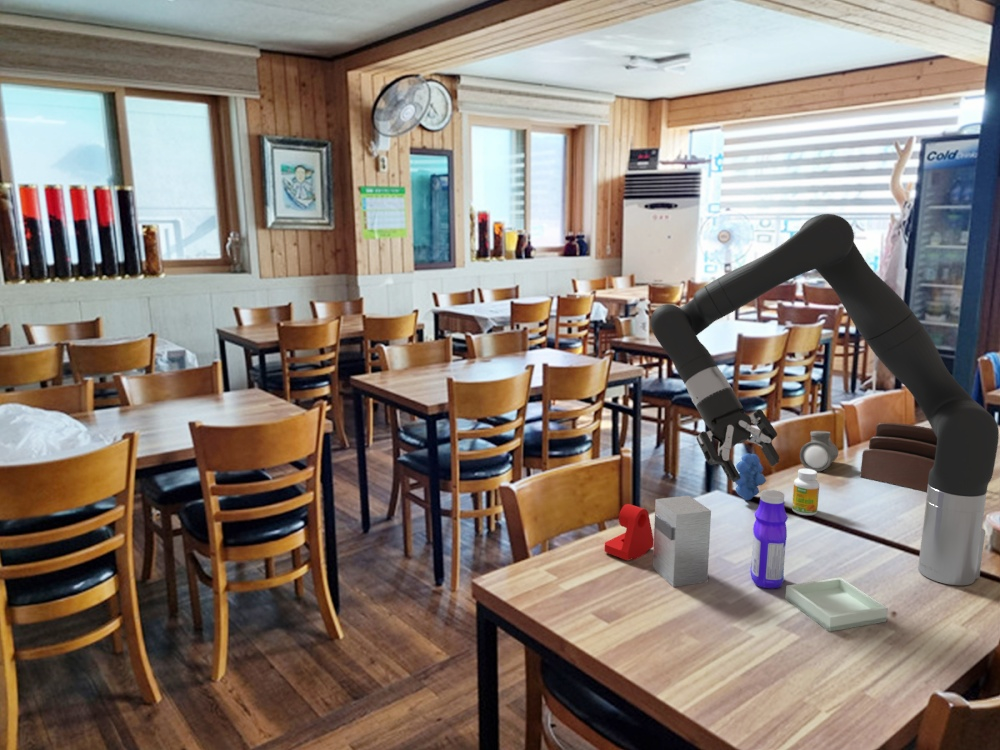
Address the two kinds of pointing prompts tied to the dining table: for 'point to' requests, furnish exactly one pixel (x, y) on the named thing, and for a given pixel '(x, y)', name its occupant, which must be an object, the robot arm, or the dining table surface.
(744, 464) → the grapes
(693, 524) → the dispenser
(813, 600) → the tray
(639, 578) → the dining table surface
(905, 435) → the letter holder
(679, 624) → the dining table surface
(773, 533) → the bottle
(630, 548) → the bracket
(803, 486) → the supplement bottle
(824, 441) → the pipe fitting
